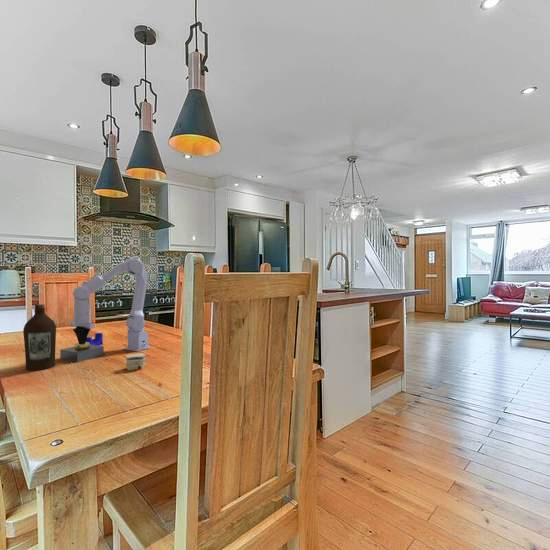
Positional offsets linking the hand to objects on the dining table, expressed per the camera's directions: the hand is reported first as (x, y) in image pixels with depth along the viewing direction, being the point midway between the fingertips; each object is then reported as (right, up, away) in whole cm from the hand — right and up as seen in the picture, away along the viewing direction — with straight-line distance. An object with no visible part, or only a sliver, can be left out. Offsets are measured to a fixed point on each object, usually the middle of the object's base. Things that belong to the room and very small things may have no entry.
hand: (82, 343), depth 145 cm
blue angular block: (-6, -6, +19) cm, 21 cm away
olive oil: (-8, -6, -15) cm, 18 cm away
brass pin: (0, -6, 0) cm, 6 cm away
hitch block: (0, -6, 0) cm, 6 cm away
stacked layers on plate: (+31, -7, -17) cm, 36 cm away
